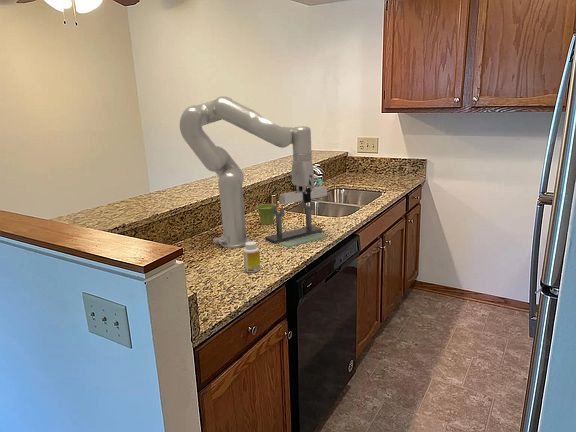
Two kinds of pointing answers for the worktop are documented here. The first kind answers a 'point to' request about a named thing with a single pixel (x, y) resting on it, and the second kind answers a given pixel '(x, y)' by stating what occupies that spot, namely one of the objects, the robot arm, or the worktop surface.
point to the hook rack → (297, 232)
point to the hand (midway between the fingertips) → (304, 201)
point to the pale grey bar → (302, 195)
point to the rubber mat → (303, 240)
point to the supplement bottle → (251, 257)
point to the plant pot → (266, 213)
